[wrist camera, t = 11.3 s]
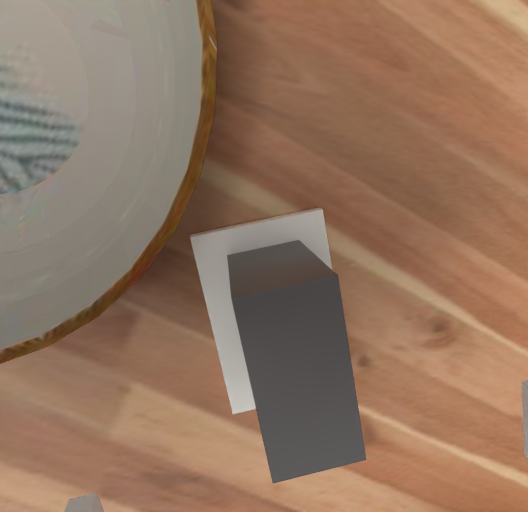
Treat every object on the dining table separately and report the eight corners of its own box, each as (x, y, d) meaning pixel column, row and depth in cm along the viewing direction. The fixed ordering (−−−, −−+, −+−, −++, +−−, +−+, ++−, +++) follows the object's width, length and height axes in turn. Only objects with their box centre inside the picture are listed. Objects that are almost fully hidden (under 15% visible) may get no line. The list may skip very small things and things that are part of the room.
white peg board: (191, 234, 24) (184, 251, 19) (318, 207, 25) (343, 217, 20) (232, 405, 27) (235, 457, 22) (346, 378, 27) (373, 423, 23)
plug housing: (226, 255, 24) (231, 298, 16) (298, 239, 24) (337, 275, 16) (256, 387, 26) (272, 483, 18) (322, 372, 26) (366, 459, 18)
